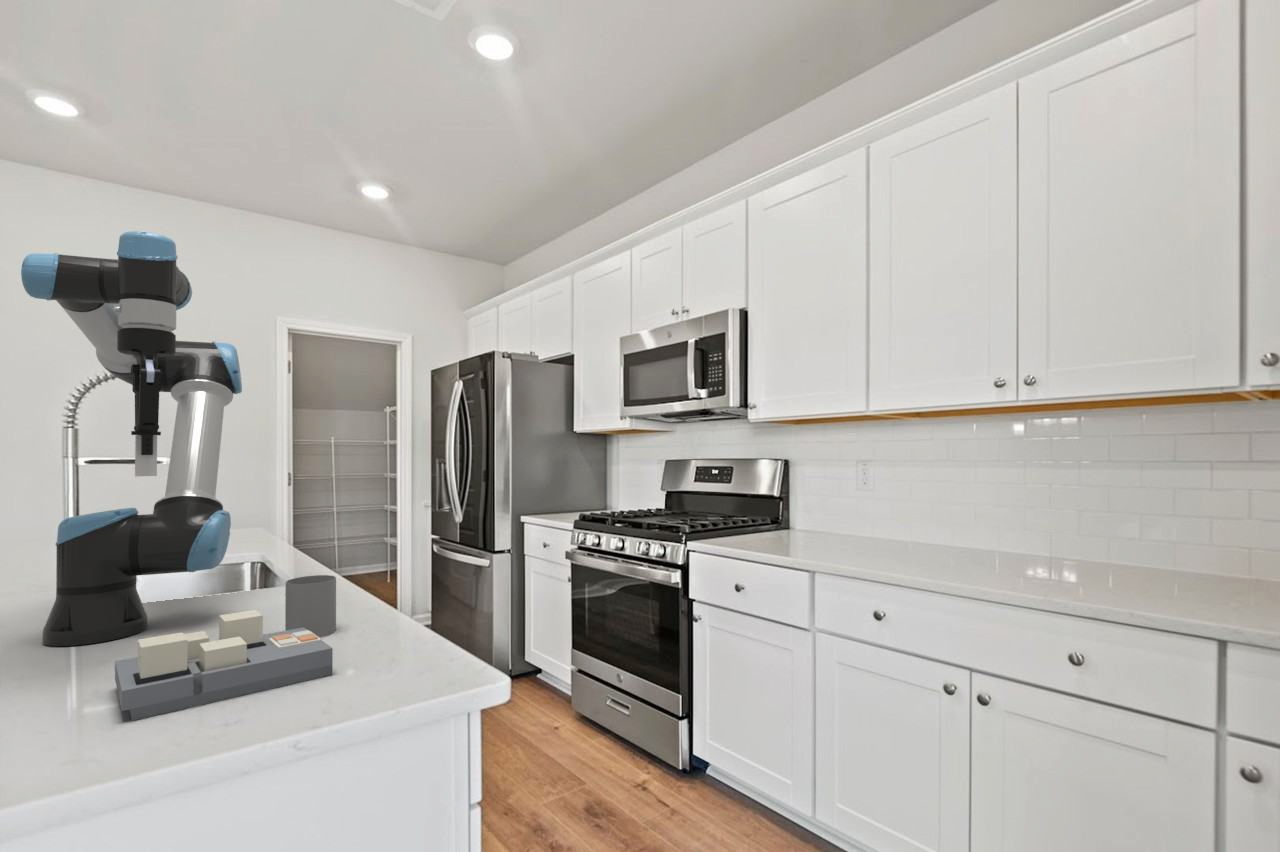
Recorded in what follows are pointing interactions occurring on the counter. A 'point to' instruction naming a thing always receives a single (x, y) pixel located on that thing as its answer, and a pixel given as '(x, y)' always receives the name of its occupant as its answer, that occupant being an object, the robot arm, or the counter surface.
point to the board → (225, 675)
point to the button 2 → (195, 643)
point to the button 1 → (162, 655)
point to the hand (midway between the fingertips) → (145, 475)
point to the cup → (311, 604)
